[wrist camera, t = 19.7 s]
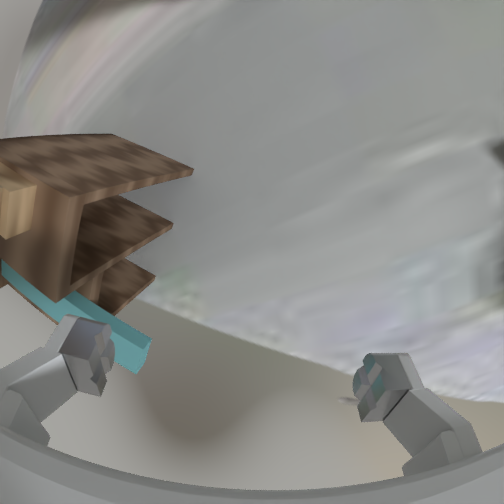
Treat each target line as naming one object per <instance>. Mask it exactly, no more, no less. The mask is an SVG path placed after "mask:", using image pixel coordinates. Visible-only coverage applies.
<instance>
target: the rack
mask: <svg viewBox="0 0 504 504" xmlns="http://www.w3.org/2000/svg"><path fill="white" fill-rule="evenodd" d="M193 170H194V169H193V168H191V167H188V166H186V165H184V164H182V163H179V162H177V161H175V160H173V159H170V158H168V157H166V156H163V155H161V154H159V153H156V152H154V151H152V150H149V149H147V148H145V147H142V146H140V145H137V144H135V143H133V142H130V141H128V140H125V139H123V138H120V137H118V136H116V135H113V134H65V135H44V136H29V137H16V138H6V139H0V288H1V287H3V286H5V285H7V284H9V285H10V286H11V287H12V288H13V289H14V290H15V291H16V292H18V293H19V294H20V295H21V296H22V297H23V298H24V299H26V300H27V301H28V302H29V303H31V304H32V305H33V306H34V307H35V308H36V309H38V310H39V311H40V312H41V313H43V314H44V315H45V316H46V317H48V318H49V319H50V320H52V321H53V322H54V323H55V324H57V325H58V324H59V323H58V322H57V321H56V320H54V319H53V318H52V317H51V316H49V315H48V314H47V313H45V312H44V311H43V310H42V309H40V308H39V307H38V306H37V305H36V304H34V303H33V302H32V301H31V300H29V299H28V298H27V297H26V296H25V295H24V294H22V293H21V292H20V291H19V290H18V289H17V288H15V287H14V286H13V285H12V284H11V283H10V282H9V281H8V280H6V279H5V278H4V277H3V276H2V266H1V259H2V260H3V261H4V262H5V263H7V264H8V265H9V266H10V267H11V268H12V269H13V270H15V271H16V272H17V273H18V274H19V275H20V276H22V277H23V278H24V279H25V280H26V281H28V282H29V283H30V284H31V285H33V286H34V287H35V288H36V289H38V290H39V291H40V292H41V293H43V294H44V295H45V296H46V297H48V298H49V299H50V300H52V301H53V302H54V303H57V302H59V301H60V300H61V299H63V298H64V297H66V296H67V295H69V294H70V293H72V292H73V291H77V292H78V293H79V294H81V295H82V296H84V297H85V298H87V299H88V300H90V301H91V302H93V303H94V304H96V305H97V306H99V307H101V308H102V309H104V310H105V311H107V312H108V313H110V314H111V315H113V316H115V315H116V314H117V313H118V312H119V311H120V310H122V309H123V308H124V307H125V306H126V305H127V304H128V303H129V302H130V301H132V300H133V299H134V298H135V297H136V296H137V295H138V294H140V293H141V292H142V291H143V290H144V289H145V288H146V287H147V286H149V285H150V284H151V283H152V282H153V281H154V280H155V275H153V274H151V273H150V272H148V271H146V270H144V269H142V268H141V267H139V266H137V265H135V264H134V263H132V262H130V261H128V260H127V259H125V257H126V256H128V255H130V254H131V253H133V252H134V251H136V250H138V249H139V248H141V247H142V246H144V245H146V244H147V243H149V242H151V241H152V240H154V239H155V238H157V237H159V236H160V235H162V234H164V233H165V232H167V231H169V230H170V229H172V226H173V223H172V222H170V221H168V220H166V219H164V218H162V217H160V216H158V215H156V214H155V213H153V212H151V211H149V210H147V209H145V208H143V207H141V206H139V205H137V204H135V203H133V202H131V201H129V200H127V199H125V198H123V197H121V196H119V195H118V194H121V193H125V192H128V191H132V190H135V189H139V188H143V187H146V186H150V185H154V184H158V183H162V182H166V181H170V180H174V179H178V178H182V177H186V176H190V175H192V173H193Z"/></svg>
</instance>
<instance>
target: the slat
mask: <svg viewBox="0 0 504 504" xmlns="http://www.w3.org/2000/svg"><path fill="white" fill-rule="evenodd" d="M1 266H2V276H3V277H4V278H5V279H6V280H8V281H9V282H10V283H11V284H12V285H13V286H14V287H15V288H17V289H18V290H19V291H20V292H21V293H22V294H24V295H25V296H26V297H27V298H28V299H29V300H31V301H32V302H33V303H34V304H36V305H37V306H38V307H39V308H40V309H42V310H43V311H44V312H45V313H47V314H48V315H49V316H51V317H52V318H53V319H54V320H56V321H57V322H58V323H59V322H60V321H61V319H62V318H63V316H64V315H66V314H71V315H75V316H79V317H84V318H87V319H91V320H95V321H99V322H103V323H107V324H109V325H110V326H111V330H112V334H111V336H110V339H111V340H112V341H113V342H114V346H115V358H114V361H115V362H117V363H118V364H120V365H121V366H123V367H125V368H126V369H128V370H130V371H131V372H133V373H135V374H137V372H138V371H139V370H140V368H141V367H142V366H143V364H144V362H145V359H146V356H147V352H148V349H149V346H150V343H151V340H152V339H151V338H150V337H148V336H146V335H145V334H143V333H141V332H139V331H138V330H136V329H134V328H132V327H131V326H129V325H128V324H126V323H124V322H123V321H121V320H119V319H118V318H116V317H115V316H113V315H111V314H110V313H108V312H107V311H105V310H104V309H102V308H101V307H99V306H97V305H96V304H94V303H93V302H91V301H90V300H88V299H87V298H85V297H84V296H82V295H81V294H79V293H78V292H77V291H73V292H72V293H70V294H69V295H67V296H66V297H64V298H63V299H61V300H60V301H59V302H57V303H54V302H53V301H52V300H50V299H49V298H48V297H46V296H45V295H44V294H43V293H41V292H40V291H39V290H38V289H36V288H35V287H34V286H33V285H31V284H30V283H29V282H28V281H26V280H25V279H24V278H23V277H22V276H20V275H19V274H18V273H17V272H16V271H15V270H13V269H12V268H11V267H10V266H9V265H8V264H7V263H5V262H4V261H3V260H2V259H1Z"/></svg>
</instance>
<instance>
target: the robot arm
mask: <svg viewBox="0 0 504 504" xmlns="http://www.w3.org/2000/svg"><path fill="white" fill-rule="evenodd" d="M111 334H112V330H111V326H110V325H109V324H107V323H103V322H99V321H95V320H91V319H87V318H84V317H79V316H75V315H71V314H66V315H64V316H63V318H62V319H61V321H60V322H59V324H58V326H57V327H56V329H55V331H54V332H53V334H52V335H51V337H50V339H49V340H48V342H47V344H46V345H45V347H44V348H42V347H40V348H38V349H36V350H34V351H32V352H30V353H29V354H27V355H25V356H23V357H21V358H20V359H18V360H16V361H14V362H12V363H11V364H9V365H7V366H6V367H4V368H2V369H0V504H504V443H503V444H502V445H499V446H497V447H494V448H492V449H489V450H487V451H484V452H482V450H481V447H480V444H479V442H478V439H477V437H476V434H475V432H474V430H473V427H472V425H471V424H470V423H469V422H468V421H467V420H466V419H465V418H463V417H462V416H461V415H460V414H459V413H457V412H456V411H455V410H454V409H453V408H451V407H450V406H449V405H448V404H446V403H445V402H444V401H443V400H442V399H440V398H439V397H438V396H437V395H436V394H434V393H433V392H432V391H431V390H430V389H428V388H424V386H423V383H422V381H421V379H420V377H419V374H418V372H417V370H416V368H415V365H414V363H413V361H412V359H411V357H410V355H409V354H408V353H369V354H367V355H366V356H365V358H364V359H363V364H364V366H362V367H361V368H359V369H358V370H357V372H356V373H355V375H354V379H353V392H354V396H355V397H356V398H358V399H359V400H360V402H359V404H358V406H357V407H358V411H359V415H360V419H361V422H371V421H383V423H384V424H385V425H386V427H387V428H388V429H389V430H390V431H391V433H393V435H394V436H395V437H396V438H397V439H398V441H399V442H400V443H401V444H402V445H403V446H404V447H405V449H406V450H407V451H408V452H409V453H410V455H411V456H412V457H413V458H411V459H410V460H409V461H408V462H407V463H405V464H404V465H403V467H402V470H403V473H404V476H403V477H398V478H393V479H388V480H383V481H377V482H371V483H365V484H358V485H351V486H343V487H334V488H322V489H307V490H278V491H277V490H268V491H267V490H240V489H225V488H214V487H204V486H196V485H188V484H182V483H175V482H169V481H164V480H159V479H153V478H149V477H144V476H139V475H135V474H131V473H127V472H123V471H119V470H115V469H112V468H108V467H104V466H101V465H97V464H95V463H91V462H88V461H85V460H82V459H79V458H76V457H73V456H70V455H68V454H65V453H62V452H60V451H57V450H55V449H52V448H50V447H47V445H48V442H49V439H50V436H49V434H48V432H47V431H46V430H45V428H44V427H43V426H42V425H41V422H42V421H43V420H44V419H46V418H47V417H48V416H49V415H50V414H52V413H53V412H54V411H55V410H56V409H58V408H59V407H60V406H61V405H63V404H64V403H65V402H66V401H67V400H69V399H70V398H71V397H72V396H73V395H74V394H76V393H77V391H80V392H84V393H88V394H92V395H96V396H100V397H101V395H102V392H103V390H104V387H105V385H106V382H107V379H106V376H105V374H106V373H107V372H109V371H110V370H111V369H112V366H113V363H114V358H115V346H114V342H113V341H112V340H111V339H110V336H111Z"/></svg>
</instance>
